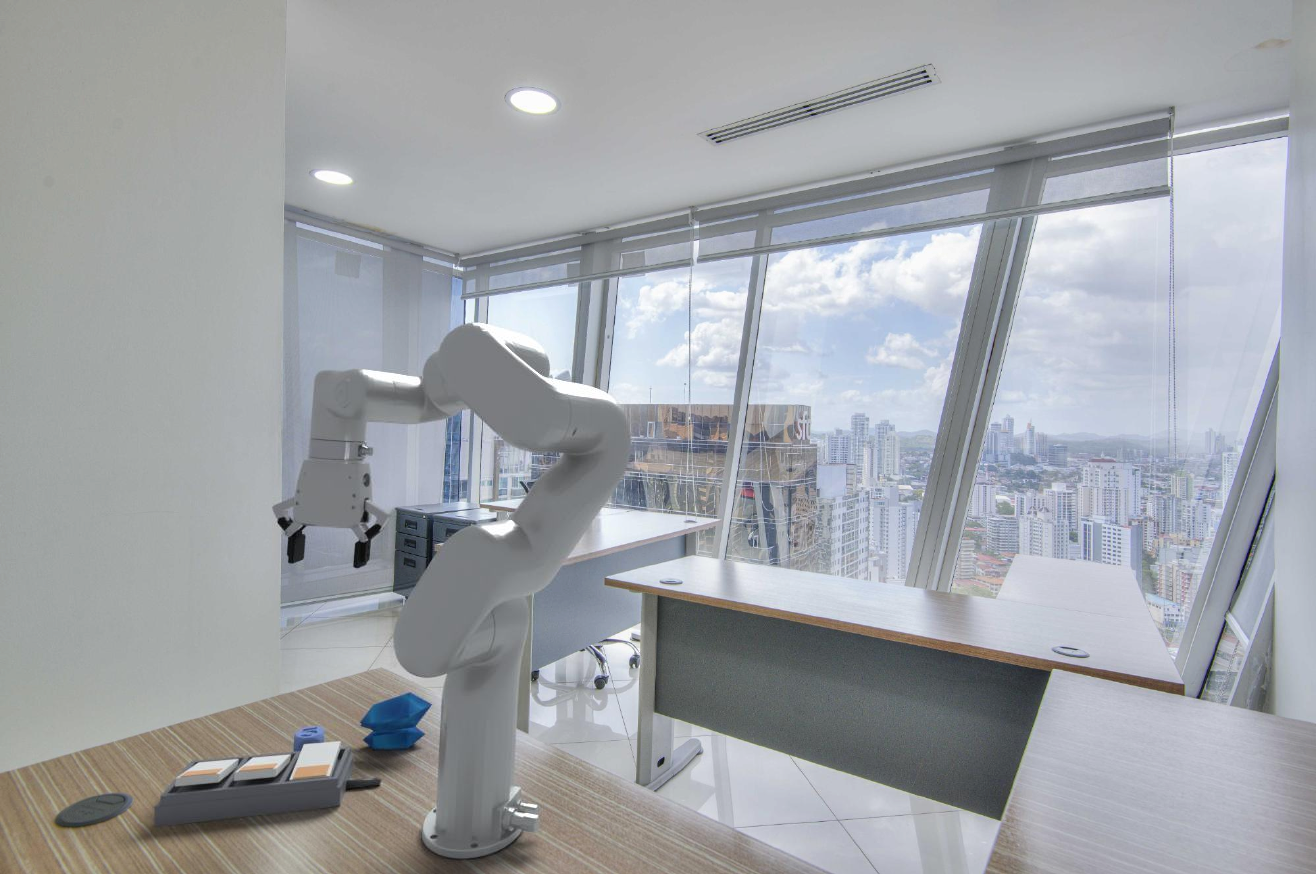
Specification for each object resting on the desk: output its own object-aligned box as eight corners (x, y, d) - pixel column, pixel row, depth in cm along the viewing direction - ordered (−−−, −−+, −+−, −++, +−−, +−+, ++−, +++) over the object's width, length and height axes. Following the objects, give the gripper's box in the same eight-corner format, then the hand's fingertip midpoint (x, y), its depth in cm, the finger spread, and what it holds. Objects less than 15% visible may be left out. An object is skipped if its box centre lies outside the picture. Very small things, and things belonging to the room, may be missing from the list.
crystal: (359, 695, 102) (434, 677, 104) (370, 746, 102) (444, 727, 104) (345, 715, 94) (425, 695, 96) (356, 770, 94) (436, 748, 97)
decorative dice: (323, 749, 97) (324, 724, 97) (322, 761, 94) (324, 735, 94) (294, 754, 95) (295, 728, 95) (292, 766, 92) (293, 739, 92)
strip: (385, 768, 92) (386, 743, 92) (376, 802, 84) (377, 774, 84) (186, 787, 85) (188, 760, 85) (153, 826, 76) (155, 796, 77)
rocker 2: (340, 748, 90) (340, 740, 89) (329, 783, 83) (329, 775, 83) (304, 751, 88) (303, 743, 88) (289, 787, 82) (289, 779, 82)
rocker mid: (289, 763, 88) (291, 753, 88) (275, 778, 81) (276, 767, 81) (251, 766, 86) (252, 756, 87) (233, 782, 80) (234, 771, 80)
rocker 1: (237, 768, 86) (238, 757, 86) (218, 783, 79) (219, 772, 80) (197, 771, 85) (198, 761, 85) (174, 788, 78) (176, 776, 78)
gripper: (403, 455, 97) (395, 563, 97) (293, 447, 97) (284, 555, 97) (383, 457, 90) (374, 573, 90) (264, 448, 89) (254, 565, 89)
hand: (328, 564), depth 93 cm, fingers open, 9 cm apart
